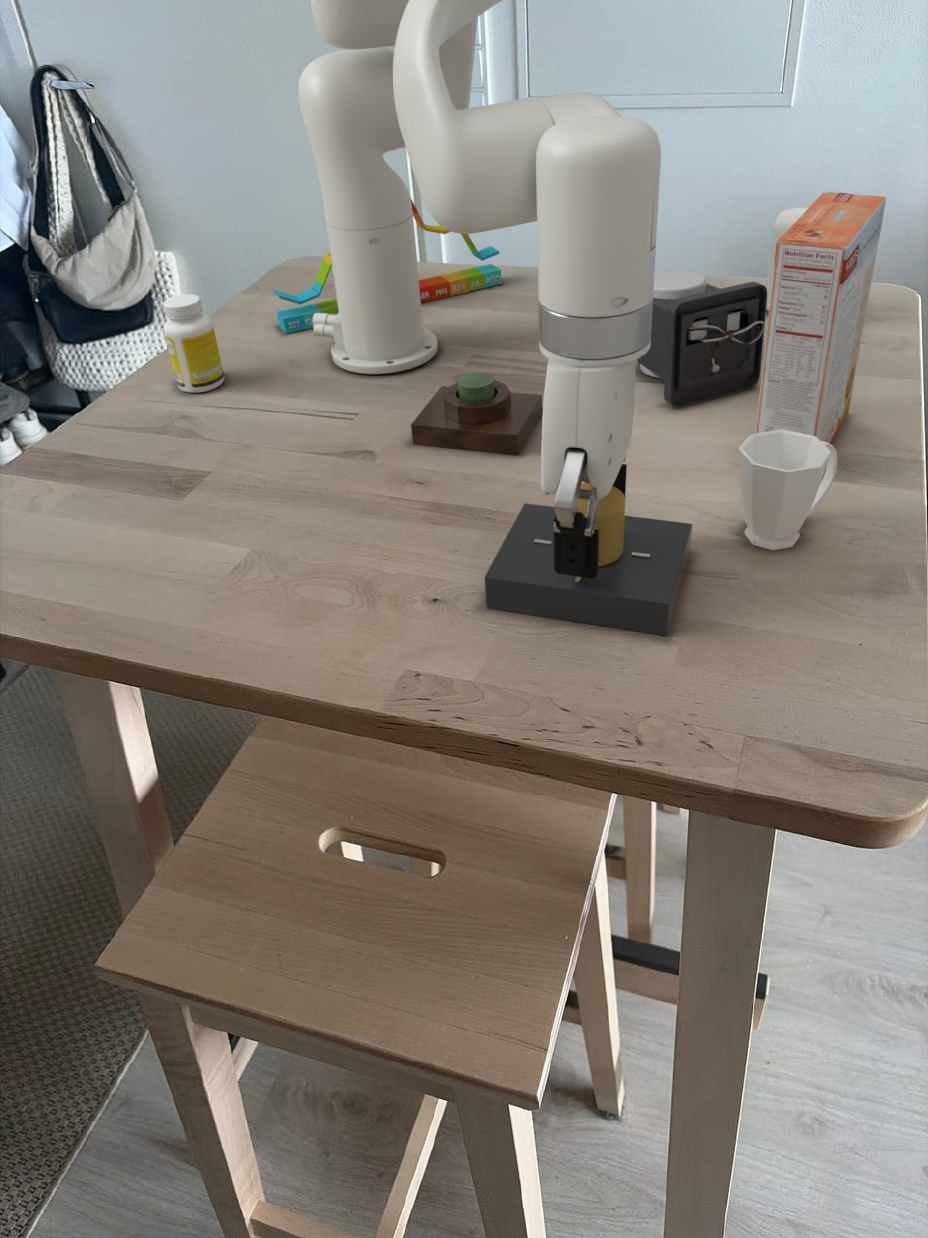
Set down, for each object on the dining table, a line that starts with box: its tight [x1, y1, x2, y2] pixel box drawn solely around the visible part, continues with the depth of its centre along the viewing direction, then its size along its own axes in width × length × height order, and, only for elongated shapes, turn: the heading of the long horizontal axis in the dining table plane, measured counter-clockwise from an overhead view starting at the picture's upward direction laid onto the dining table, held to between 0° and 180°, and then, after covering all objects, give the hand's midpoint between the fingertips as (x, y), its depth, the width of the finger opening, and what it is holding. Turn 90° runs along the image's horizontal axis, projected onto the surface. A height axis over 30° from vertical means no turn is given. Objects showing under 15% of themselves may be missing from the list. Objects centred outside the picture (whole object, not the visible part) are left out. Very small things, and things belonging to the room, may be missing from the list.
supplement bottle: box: [162, 293, 225, 394], centre depth 112 cm, size 5×5×10 cm
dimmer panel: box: [484, 503, 693, 636], centre depth 79 cm, size 14×11×3 cm
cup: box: [738, 429, 838, 551], centre depth 81 cm, size 7×10×8 cm
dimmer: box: [577, 482, 626, 567], centre depth 76 cm, size 5×5×5 cm
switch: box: [457, 371, 495, 402], centre depth 99 cm, size 4×4×2 cm
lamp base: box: [410, 379, 543, 456], centre depth 100 cm, size 11×9×4 cm
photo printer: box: [764, 206, 810, 312], centre depth 115 cm, size 10×4×12 cm, turn 32°
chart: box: [272, 198, 502, 335], centre depth 126 cm, size 30×3×15 cm, turn 115°
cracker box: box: [754, 191, 887, 445], centre depth 89 cm, size 14×6×21 cm, turn 150°
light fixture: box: [636, 269, 767, 409], centre depth 105 cm, size 11×13×11 cm
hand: (591, 538), depth 77 cm, fingers open, 9 cm apart
